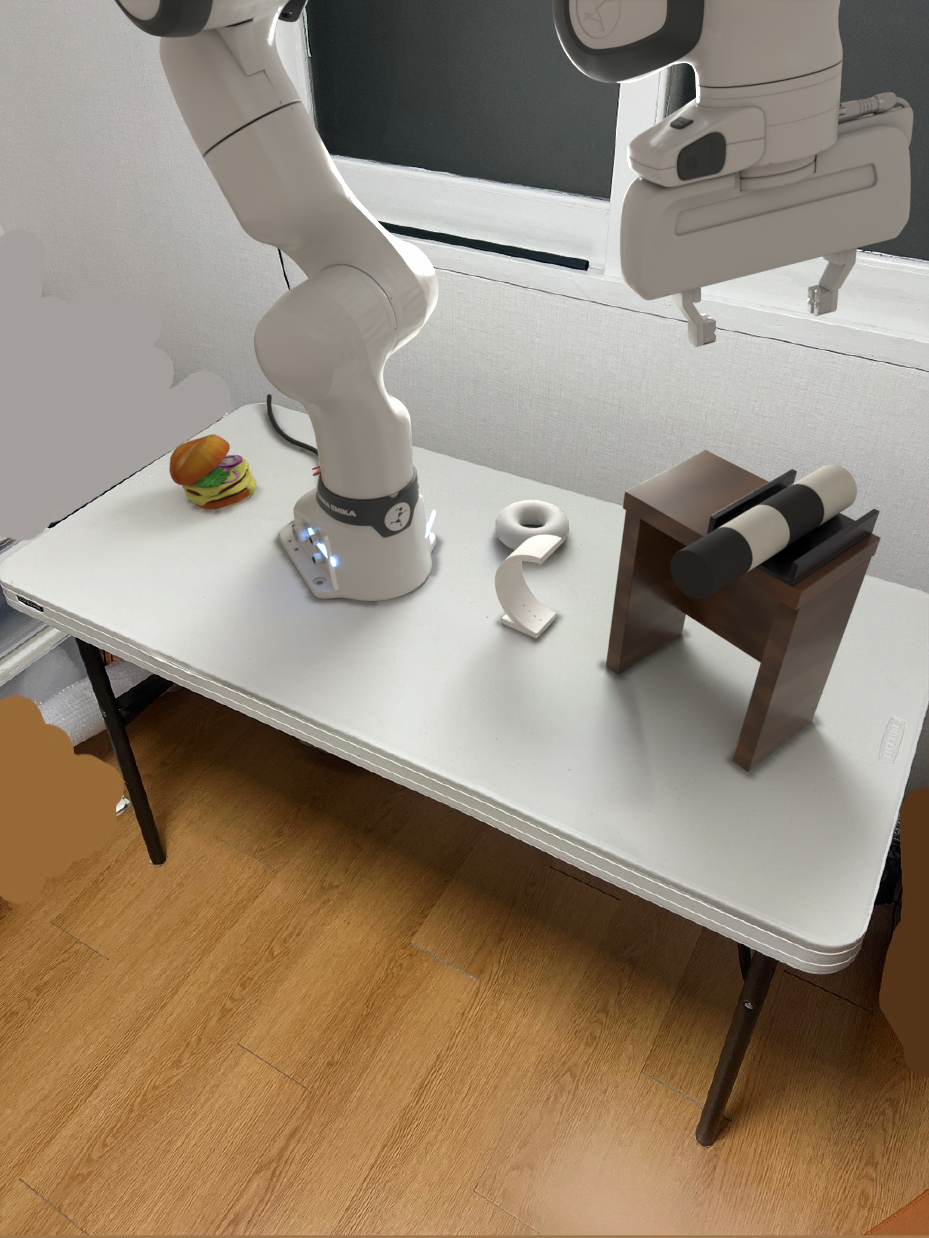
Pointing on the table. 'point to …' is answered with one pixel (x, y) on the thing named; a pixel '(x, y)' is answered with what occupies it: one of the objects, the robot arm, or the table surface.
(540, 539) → the headphone stand
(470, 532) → the table surface
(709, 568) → the roll
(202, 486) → the cheeseburger
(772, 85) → the robot arm
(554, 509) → the donut
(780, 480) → the tray
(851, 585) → the shelf
